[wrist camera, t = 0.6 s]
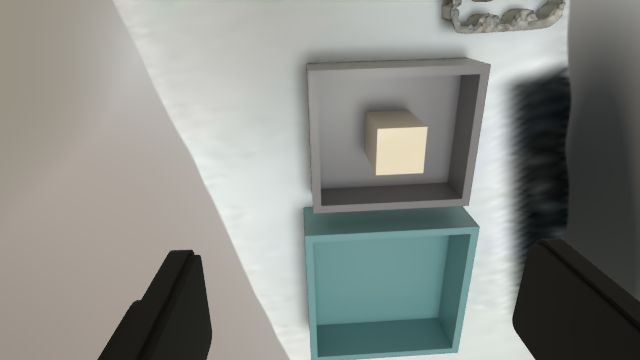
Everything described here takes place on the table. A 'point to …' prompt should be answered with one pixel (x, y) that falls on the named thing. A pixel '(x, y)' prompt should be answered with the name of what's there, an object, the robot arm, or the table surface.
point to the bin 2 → (388, 281)
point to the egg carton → (505, 18)
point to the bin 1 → (394, 95)
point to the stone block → (395, 142)
